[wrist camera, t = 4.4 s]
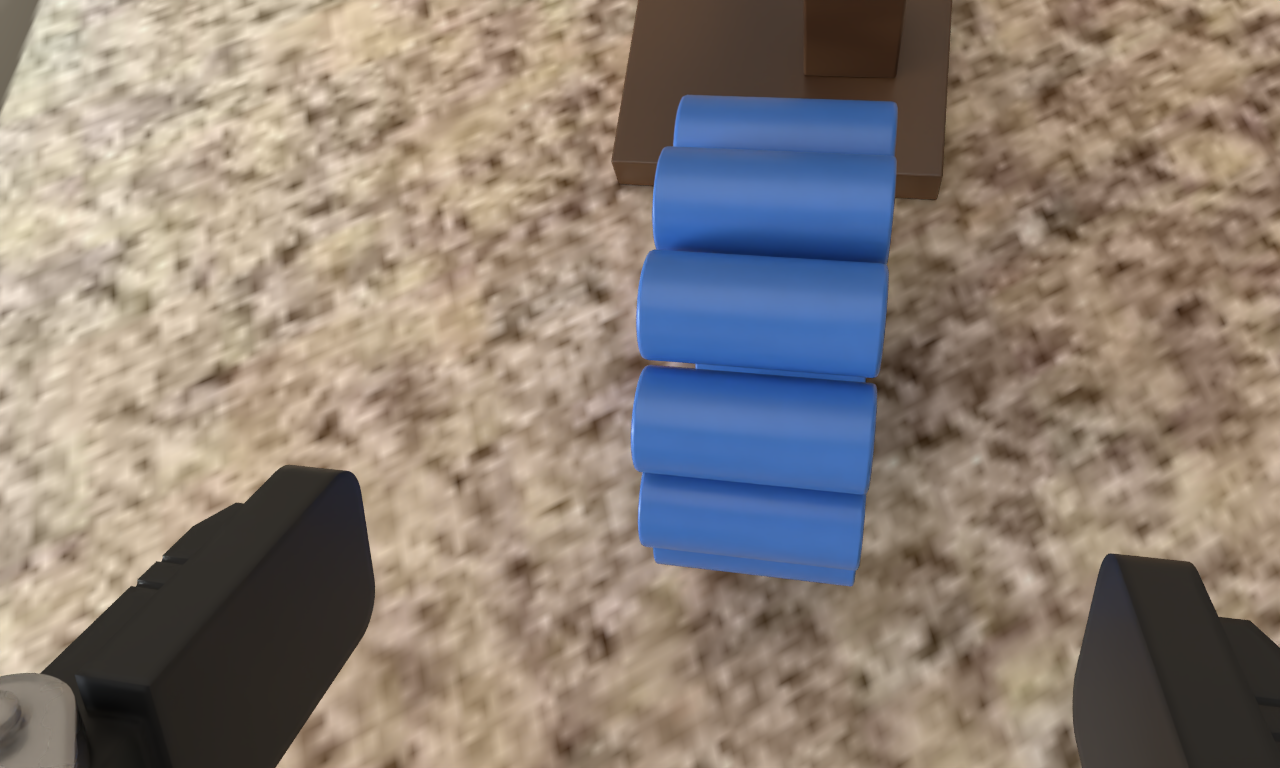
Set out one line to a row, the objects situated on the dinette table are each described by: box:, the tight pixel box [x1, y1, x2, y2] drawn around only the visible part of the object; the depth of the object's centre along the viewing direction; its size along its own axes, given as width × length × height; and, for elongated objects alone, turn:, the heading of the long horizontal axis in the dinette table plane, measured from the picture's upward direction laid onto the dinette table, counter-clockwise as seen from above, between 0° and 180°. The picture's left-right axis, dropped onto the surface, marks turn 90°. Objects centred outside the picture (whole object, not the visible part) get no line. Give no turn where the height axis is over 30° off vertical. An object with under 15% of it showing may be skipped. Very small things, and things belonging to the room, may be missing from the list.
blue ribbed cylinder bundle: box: [631, 95, 898, 586], centre depth 21 cm, size 4×9×9 cm, turn 172°
